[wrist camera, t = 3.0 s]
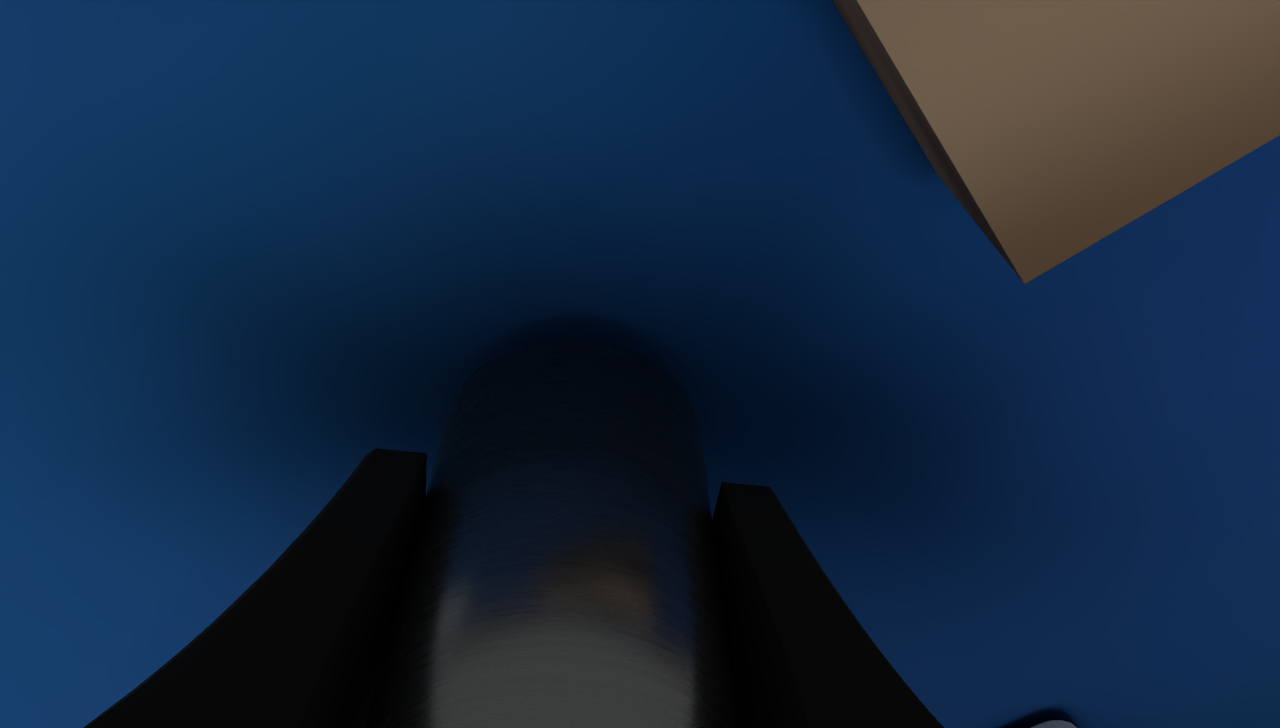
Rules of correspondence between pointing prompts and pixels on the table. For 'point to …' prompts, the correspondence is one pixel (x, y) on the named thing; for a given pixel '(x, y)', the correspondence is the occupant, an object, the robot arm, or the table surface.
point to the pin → (562, 556)
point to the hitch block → (1074, 105)
